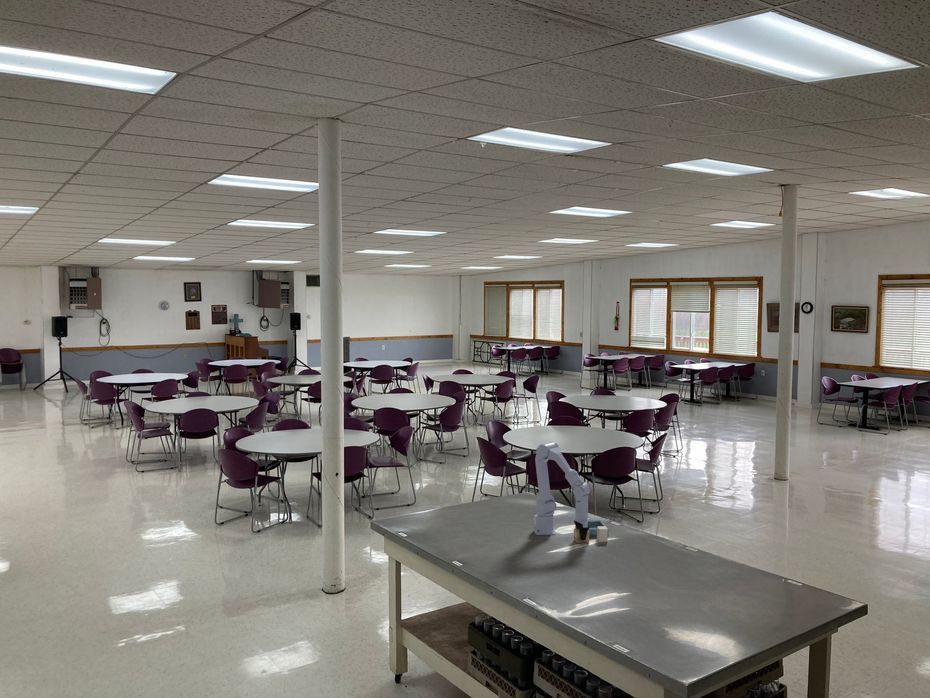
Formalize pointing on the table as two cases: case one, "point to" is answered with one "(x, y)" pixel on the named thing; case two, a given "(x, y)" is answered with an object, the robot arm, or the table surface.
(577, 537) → the oak block
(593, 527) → the tote
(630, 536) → the table surface
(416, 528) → the table surface
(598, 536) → the cream carton
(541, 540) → the table surface
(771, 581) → the table surface
